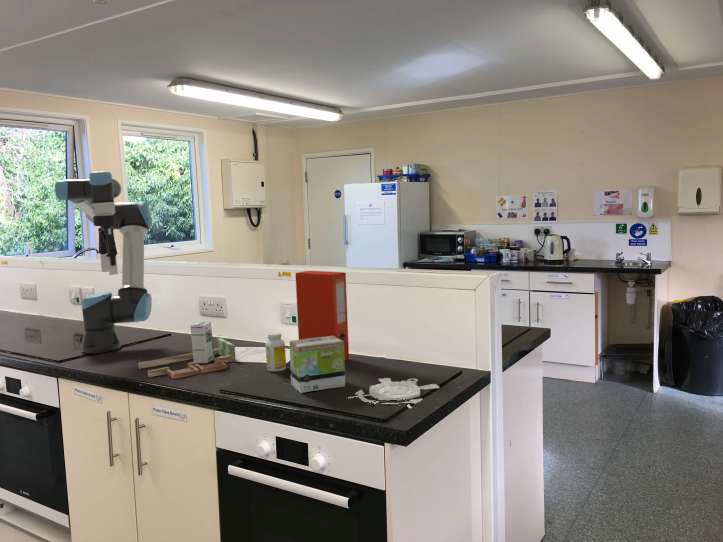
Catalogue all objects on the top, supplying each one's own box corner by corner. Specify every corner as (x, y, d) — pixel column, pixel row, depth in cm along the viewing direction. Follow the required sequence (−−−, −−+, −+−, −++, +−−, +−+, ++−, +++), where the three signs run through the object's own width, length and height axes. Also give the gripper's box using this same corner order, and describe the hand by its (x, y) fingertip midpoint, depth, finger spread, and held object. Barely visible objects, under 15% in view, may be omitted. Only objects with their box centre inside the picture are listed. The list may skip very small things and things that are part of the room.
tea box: (300, 394, 182) (298, 347, 180) (290, 385, 191) (288, 340, 189) (346, 386, 188) (344, 340, 186) (335, 378, 197) (332, 334, 195)
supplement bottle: (289, 367, 212) (287, 331, 210) (281, 372, 206) (278, 336, 204) (272, 366, 214) (270, 331, 213) (263, 371, 208) (261, 335, 206)
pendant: (339, 403, 174) (339, 399, 174) (385, 376, 198) (385, 372, 198) (405, 414, 163) (405, 409, 163) (446, 384, 187) (446, 380, 187)
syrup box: (207, 363, 222) (204, 324, 220) (193, 363, 223) (190, 324, 221) (214, 359, 228) (211, 321, 226) (200, 358, 229) (197, 321, 227)
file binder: (313, 353, 230) (309, 270, 226) (349, 358, 220) (345, 272, 216) (299, 358, 224) (294, 272, 220) (335, 364, 213) (331, 275, 209)
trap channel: (138, 368, 220) (137, 351, 219) (221, 352, 237) (220, 337, 236) (155, 382, 200) (153, 365, 200) (244, 364, 218) (243, 348, 217)
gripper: (86, 215, 226) (92, 271, 229) (99, 215, 205) (105, 277, 208) (108, 214, 230) (113, 269, 233) (122, 214, 210) (128, 274, 212)
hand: (109, 273), depth 220 cm, fingers open, 13 cm apart
